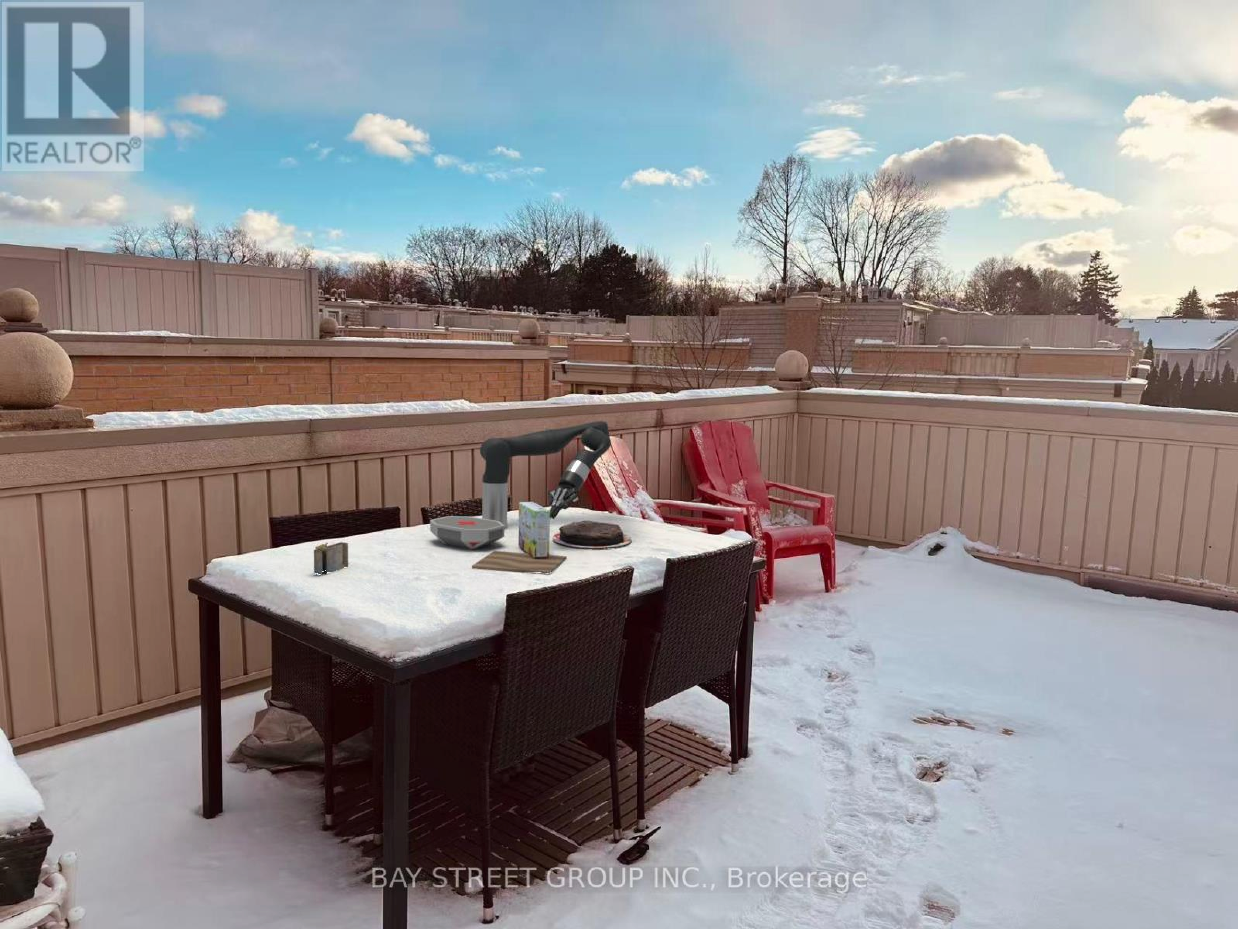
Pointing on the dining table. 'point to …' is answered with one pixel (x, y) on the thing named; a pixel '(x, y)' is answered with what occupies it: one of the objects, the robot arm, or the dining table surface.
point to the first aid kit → (467, 531)
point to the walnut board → (518, 562)
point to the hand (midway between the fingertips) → (550, 516)
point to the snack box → (534, 529)
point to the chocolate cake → (591, 535)
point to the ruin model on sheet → (330, 557)
